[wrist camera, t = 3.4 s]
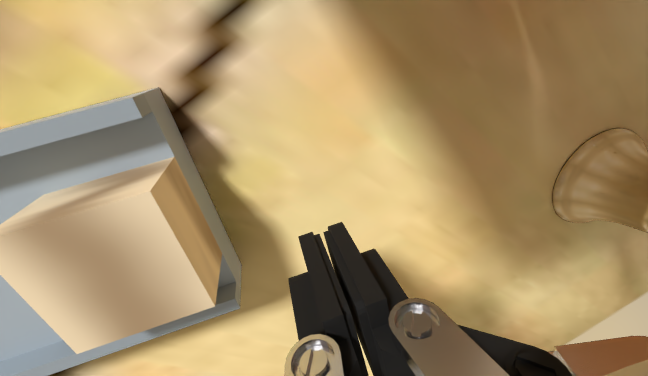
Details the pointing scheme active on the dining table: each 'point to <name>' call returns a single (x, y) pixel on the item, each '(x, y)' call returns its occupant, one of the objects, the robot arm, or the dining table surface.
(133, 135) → the tray
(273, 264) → the dining table surface
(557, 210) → the hand bell
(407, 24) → the dining table surface
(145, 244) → the block
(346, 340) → the robot arm
